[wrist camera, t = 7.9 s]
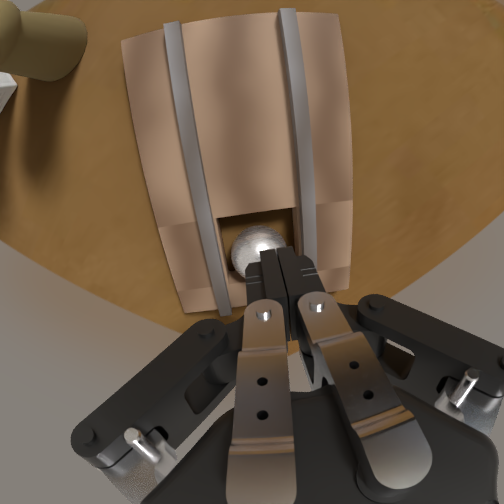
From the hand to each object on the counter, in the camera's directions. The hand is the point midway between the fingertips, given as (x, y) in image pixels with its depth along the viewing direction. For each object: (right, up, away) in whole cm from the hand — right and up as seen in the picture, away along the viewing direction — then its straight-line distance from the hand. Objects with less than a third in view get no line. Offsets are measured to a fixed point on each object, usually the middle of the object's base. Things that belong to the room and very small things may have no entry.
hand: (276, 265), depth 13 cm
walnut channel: (-1, +7, +8) cm, 11 cm away
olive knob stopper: (-17, +17, +1) cm, 24 cm away
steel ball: (-1, 0, +9) cm, 9 cm away
